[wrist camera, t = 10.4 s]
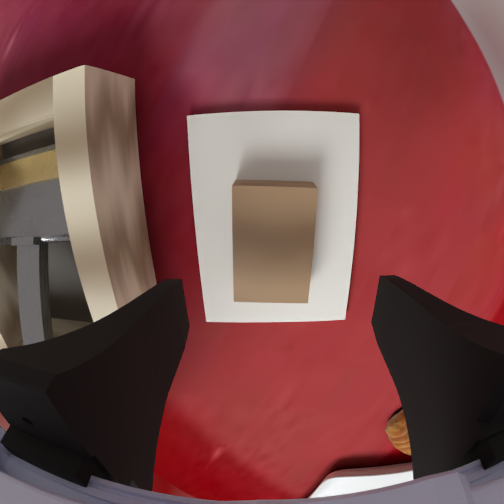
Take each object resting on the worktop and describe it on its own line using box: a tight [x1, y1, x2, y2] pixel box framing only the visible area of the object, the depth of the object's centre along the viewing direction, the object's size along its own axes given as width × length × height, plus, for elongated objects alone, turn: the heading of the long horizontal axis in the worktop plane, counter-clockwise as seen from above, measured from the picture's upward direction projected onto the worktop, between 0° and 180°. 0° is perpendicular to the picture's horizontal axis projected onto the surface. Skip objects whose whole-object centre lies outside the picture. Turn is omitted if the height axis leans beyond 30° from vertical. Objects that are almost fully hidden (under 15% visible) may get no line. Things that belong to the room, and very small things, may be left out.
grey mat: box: [187, 111, 359, 322], centre depth 19 cm, size 14×10×1 cm
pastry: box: [386, 409, 411, 455], centre depth 26 cm, size 9×7×4 cm
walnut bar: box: [232, 180, 318, 303], centre depth 18 cm, size 7×4×2 cm, turn 0°
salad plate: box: [308, 462, 413, 498], centre depth 34 cm, size 21×21×3 cm
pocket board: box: [0, 65, 157, 350], centre depth 17 cm, size 20×15×6 cm
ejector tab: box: [0, 144, 71, 345], centre depth 16 cm, size 14×10×2 cm
